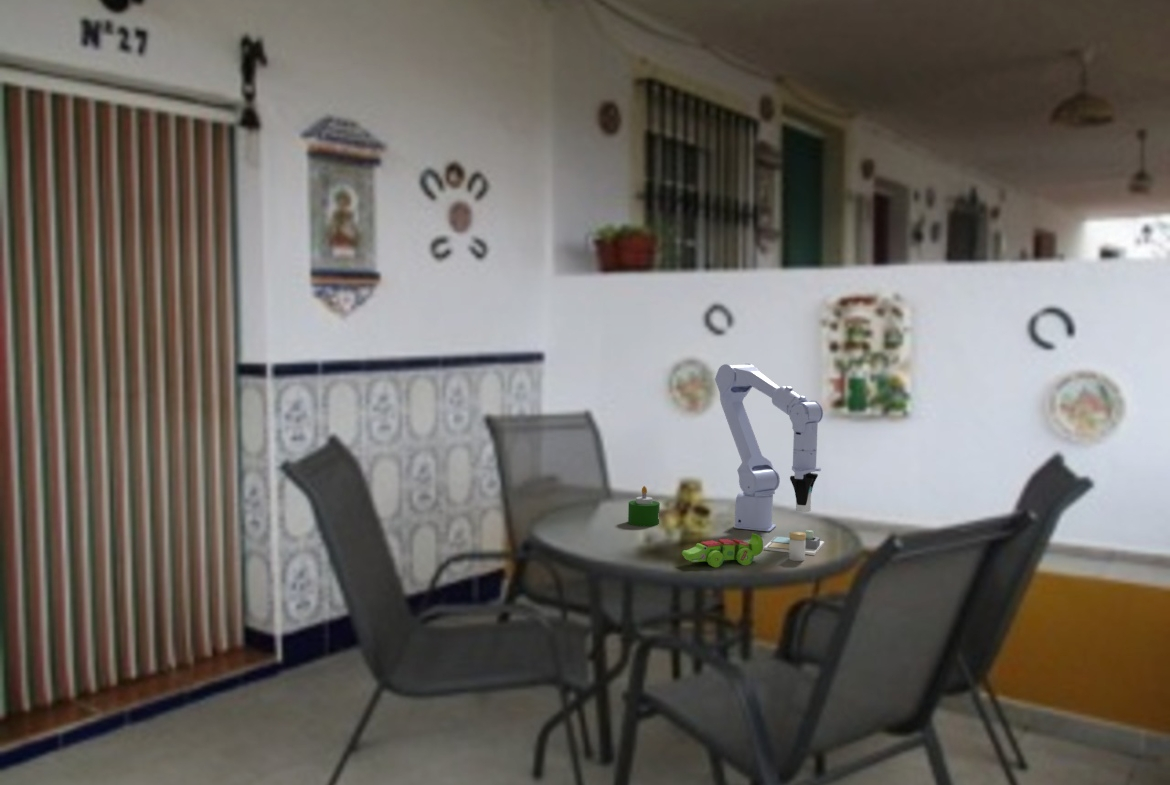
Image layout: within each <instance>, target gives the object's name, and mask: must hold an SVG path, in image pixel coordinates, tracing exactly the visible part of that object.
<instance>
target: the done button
mask: <svg viewBox="0 0 1170 785" xmlns="http://www.w3.org/2000/svg"><path fill="white" fill-rule="evenodd" d="M804 533H806V540H813V537H814V530H812V529H810V530H809V529H807V530H804Z"/></svg>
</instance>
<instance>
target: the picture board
mask: <svg viewBox="0 0 1170 785" xmlns="http://www.w3.org/2000/svg"><path fill="white" fill-rule="evenodd" d="M789 541H790V538H789V536H779V535H776V536H774V537H773V538H772V539H771V540H770V541H769V542H768V543H767V544H766V545H764V546H763V550H764V551H770V552H771V551H772V552H781V553H789ZM824 545H825V541H823V540H821V537H818V536H813V540H806V543H805V555H811V556H815V555H816V554H818V552H819V551H820V549H821V548H822V547H823V546H824Z"/></svg>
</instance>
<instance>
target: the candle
mask: <svg viewBox="0 0 1170 785" xmlns="http://www.w3.org/2000/svg"><path fill="white" fill-rule="evenodd" d="M647 492H648V489H647V487H646V486H645V485H644V486H643V487H642V488H641V493H642V495H641V496H637V497H635V500H630V501H628V517H627V519H628V520H627V523H628V525H631V526H636V527H655V526H658V524H659V525H660V518H659V519H658V513H659V514H660V511H661V510H660V507H661V506H660V505H661V504H660V502H659V501H656V500H653V497H651V496H647Z"/></svg>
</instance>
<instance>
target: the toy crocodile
mask: <svg viewBox="0 0 1170 785" xmlns="http://www.w3.org/2000/svg"><path fill="white" fill-rule="evenodd" d="M763 550H764V541H763V539H762V536H761V535H759V534H756V533H754V532H752V533H751V537H750V540H749V541H744V540H741V539H740V540H739V539H736V538H734V539H732V540H731V539H730V538H725V539H724V538H719V539H718V541H716V540H713V539H712V540H706V541H701V542H700V543H699V542H698V543H696V544H695V546H693V547H691V548H689V549H686V550H685V549H684V550H681V551H682V552H681V555H682V556H683V558H684V559H685V560H687V561H689V562H692V563H699V562H702V563H707V564H708V566H710V567H712V568H719V567H721V566H722V565H723V563H724V561H737V563H738V564H740V565H742V566H749V565H751V564H752V563H753V561H754V557H756V556H758V555H760V554H761V553H762V552H763Z"/></svg>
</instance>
